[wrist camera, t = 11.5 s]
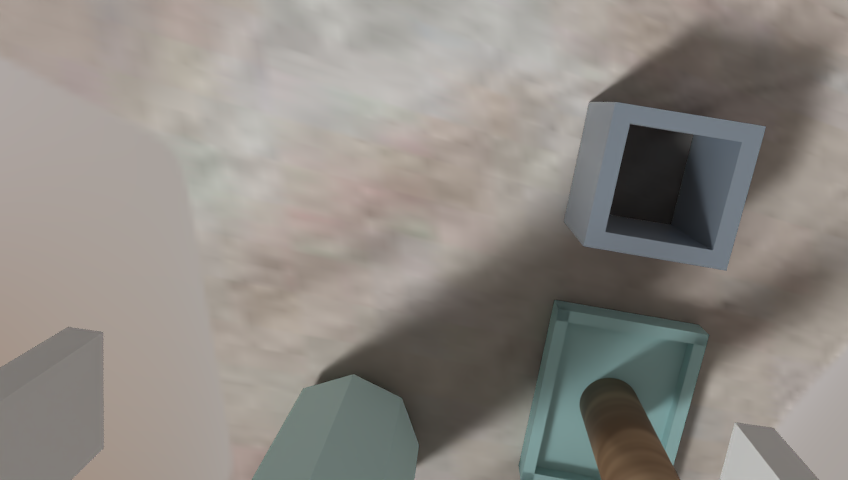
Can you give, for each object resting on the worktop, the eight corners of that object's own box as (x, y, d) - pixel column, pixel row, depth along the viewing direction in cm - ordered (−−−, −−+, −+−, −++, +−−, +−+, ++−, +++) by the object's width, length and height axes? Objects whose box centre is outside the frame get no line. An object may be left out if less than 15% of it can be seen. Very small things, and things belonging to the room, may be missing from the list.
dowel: (586, 372, 44) (632, 495, 31) (644, 384, 44) (716, 512, 30) (573, 424, 45) (612, 566, 31) (630, 435, 45) (694, 582, 31)
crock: (589, 101, 41) (615, 101, 34) (712, 121, 41) (766, 126, 34) (563, 221, 43) (583, 246, 36) (682, 241, 43) (726, 270, 36)
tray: (554, 299, 44) (558, 308, 42) (698, 324, 44) (709, 335, 42) (518, 465, 47) (520, 481, 45) (653, 490, 47) (661, 507, 45)
